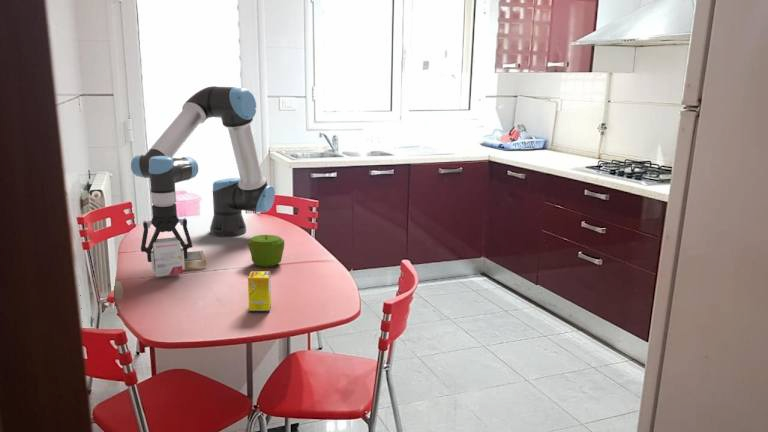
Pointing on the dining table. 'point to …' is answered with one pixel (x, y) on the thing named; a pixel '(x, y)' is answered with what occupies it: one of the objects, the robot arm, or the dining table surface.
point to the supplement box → (259, 291)
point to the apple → (266, 250)
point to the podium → (195, 260)
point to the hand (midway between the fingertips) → (168, 269)
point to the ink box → (167, 256)
